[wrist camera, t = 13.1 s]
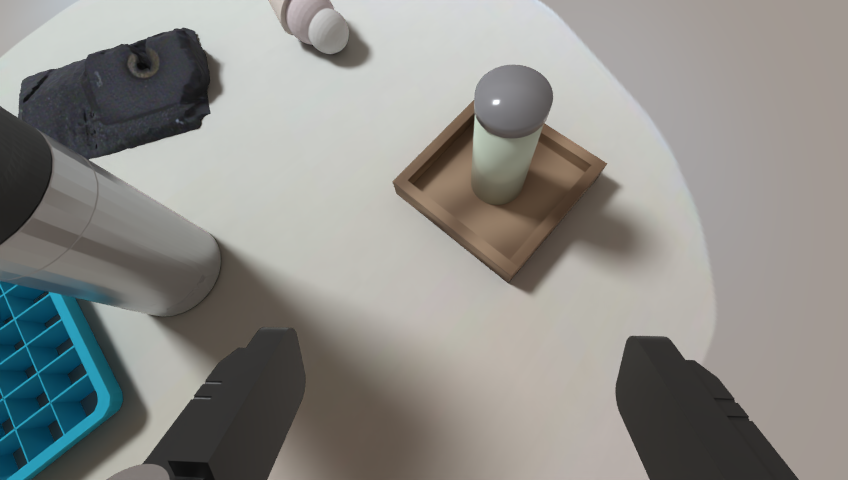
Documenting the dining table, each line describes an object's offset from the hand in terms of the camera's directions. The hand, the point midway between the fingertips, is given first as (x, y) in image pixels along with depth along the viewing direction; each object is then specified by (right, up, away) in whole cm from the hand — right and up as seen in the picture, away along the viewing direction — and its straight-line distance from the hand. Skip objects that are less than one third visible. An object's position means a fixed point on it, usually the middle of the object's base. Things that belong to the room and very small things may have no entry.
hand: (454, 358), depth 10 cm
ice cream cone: (-15, +29, +39) cm, 51 cm away
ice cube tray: (-37, -8, +28) cm, 47 cm away
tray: (+6, +8, +29) cm, 31 cm away
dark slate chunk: (-37, +19, +38) cm, 56 cm away
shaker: (+6, +9, +28) cm, 30 cm away
